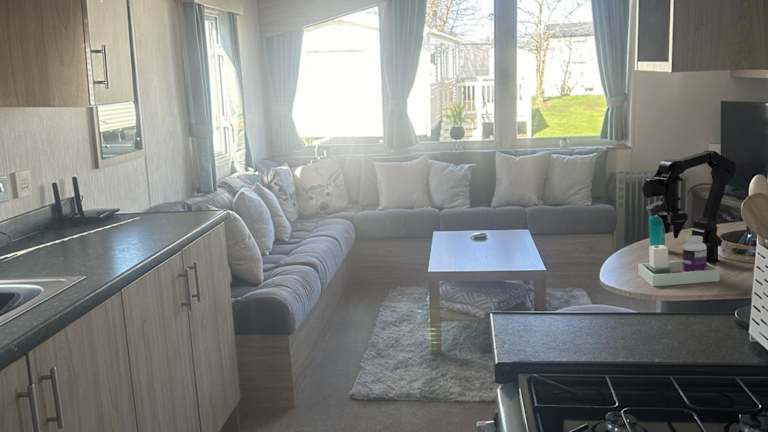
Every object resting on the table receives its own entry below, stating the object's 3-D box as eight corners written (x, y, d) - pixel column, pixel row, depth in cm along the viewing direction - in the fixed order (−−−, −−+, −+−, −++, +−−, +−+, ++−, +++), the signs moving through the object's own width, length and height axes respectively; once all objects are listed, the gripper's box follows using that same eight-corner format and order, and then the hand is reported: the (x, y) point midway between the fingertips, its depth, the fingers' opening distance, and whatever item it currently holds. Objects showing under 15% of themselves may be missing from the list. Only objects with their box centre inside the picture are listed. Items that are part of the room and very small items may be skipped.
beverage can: (665, 251, 307) (665, 215, 305) (651, 252, 309) (650, 216, 306) (663, 248, 313) (662, 212, 310) (649, 248, 314) (648, 213, 311)
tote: (701, 269, 278) (701, 258, 277) (719, 281, 262) (719, 269, 262) (638, 274, 279) (638, 264, 278) (652, 286, 263) (652, 275, 262)
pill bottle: (678, 274, 274) (677, 236, 271) (699, 272, 275) (699, 233, 272) (689, 280, 266) (688, 240, 264) (711, 278, 267) (710, 238, 264)
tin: (664, 276, 274) (664, 262, 273) (671, 281, 268) (671, 267, 267) (646, 277, 274) (645, 264, 274) (652, 282, 268) (652, 269, 267)
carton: (663, 263, 272) (663, 243, 271) (668, 267, 268) (667, 246, 266) (649, 264, 273) (649, 244, 271) (654, 268, 268) (653, 247, 266)
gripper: (640, 192, 288) (641, 232, 290) (656, 200, 269) (657, 242, 272) (669, 189, 287) (670, 229, 290) (688, 197, 269) (689, 240, 272)
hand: (671, 235), depth 281 cm, fingers open, 9 cm apart
